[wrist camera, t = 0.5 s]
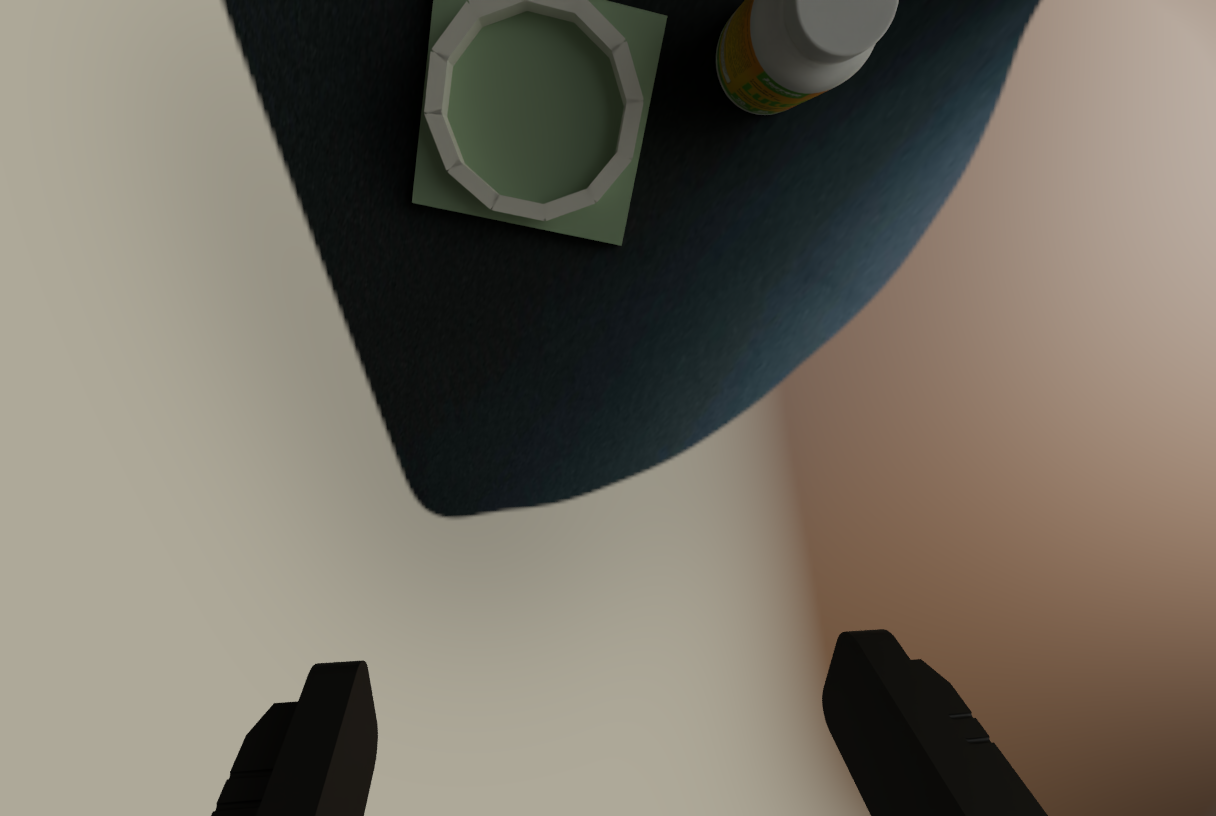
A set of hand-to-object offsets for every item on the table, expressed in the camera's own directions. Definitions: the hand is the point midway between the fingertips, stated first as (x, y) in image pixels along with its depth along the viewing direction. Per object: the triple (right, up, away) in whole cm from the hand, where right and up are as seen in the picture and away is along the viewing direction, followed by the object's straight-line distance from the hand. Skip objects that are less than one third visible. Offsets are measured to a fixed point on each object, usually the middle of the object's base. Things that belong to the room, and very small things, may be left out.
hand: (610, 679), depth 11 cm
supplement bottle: (+8, +23, +22) cm, 32 cm away
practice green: (-4, +20, +21) cm, 29 cm away
